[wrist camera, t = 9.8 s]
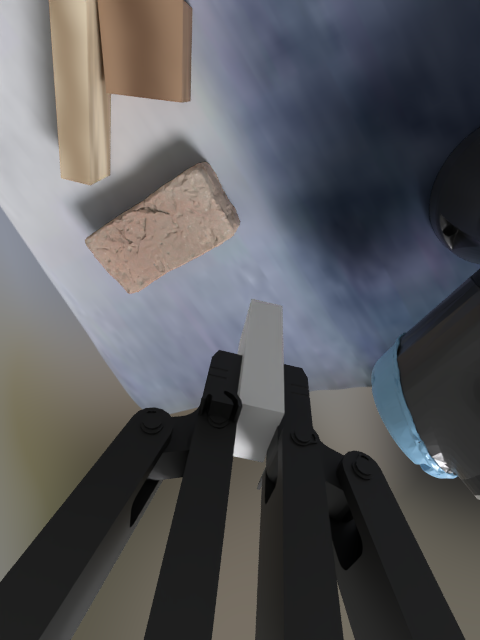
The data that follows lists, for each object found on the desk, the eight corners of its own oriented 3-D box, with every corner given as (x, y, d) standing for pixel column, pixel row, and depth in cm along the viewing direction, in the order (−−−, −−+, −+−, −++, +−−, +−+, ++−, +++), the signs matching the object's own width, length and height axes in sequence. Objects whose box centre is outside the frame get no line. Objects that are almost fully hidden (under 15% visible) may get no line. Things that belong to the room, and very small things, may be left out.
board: (112, -98, 28) (83, -130, 24) (110, 175, 40) (90, 185, 35) (74, -108, 28) (38, -143, 24) (83, 168, 39) (60, 178, 35)
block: (192, 8, 31) (182, -1, 28) (190, 101, 35) (181, 102, 32) (115, -1, 31) (96, -11, 28) (122, 92, 35) (106, 92, 32)
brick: (204, 155, 38) (196, 163, 34) (244, 222, 41) (240, 236, 38) (97, 229, 44) (79, 243, 40) (140, 281, 47) (127, 298, 44)
